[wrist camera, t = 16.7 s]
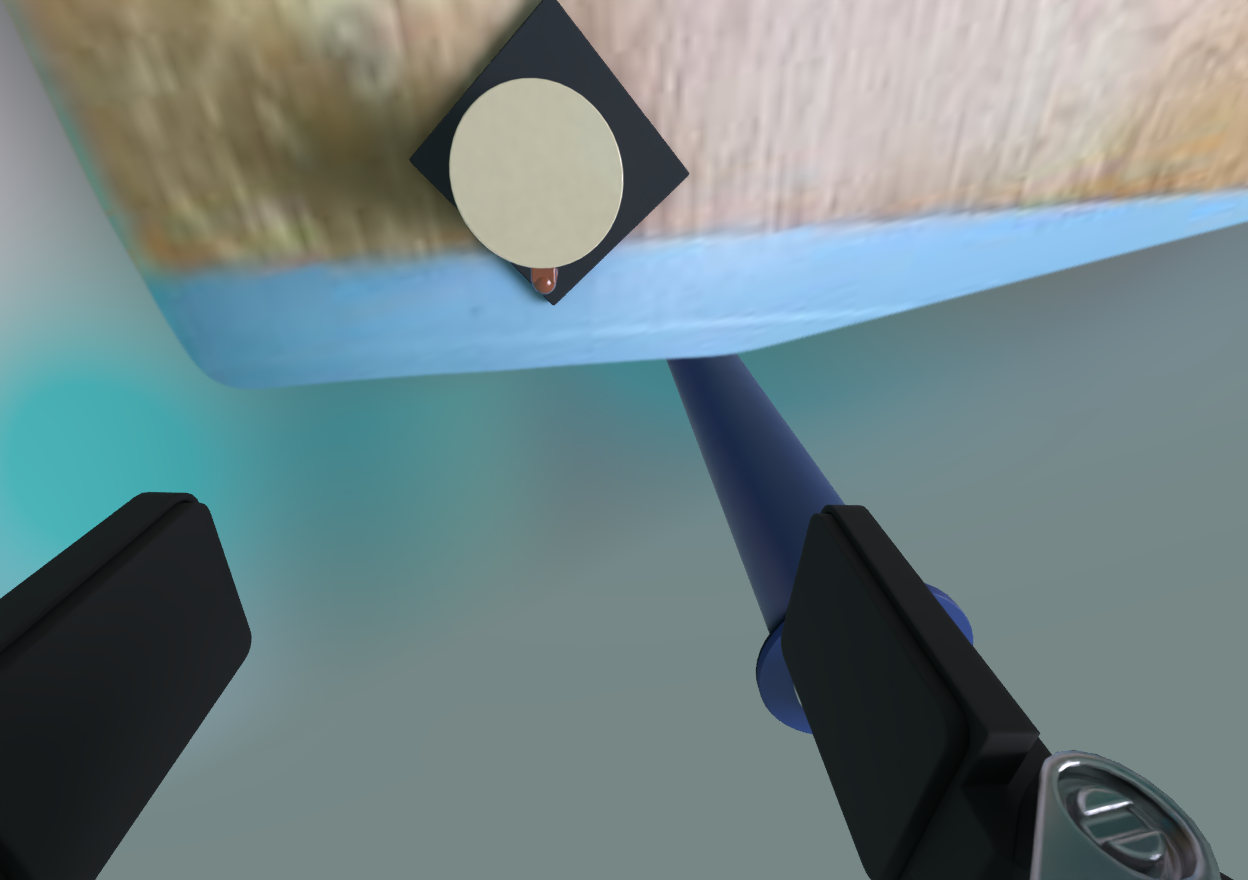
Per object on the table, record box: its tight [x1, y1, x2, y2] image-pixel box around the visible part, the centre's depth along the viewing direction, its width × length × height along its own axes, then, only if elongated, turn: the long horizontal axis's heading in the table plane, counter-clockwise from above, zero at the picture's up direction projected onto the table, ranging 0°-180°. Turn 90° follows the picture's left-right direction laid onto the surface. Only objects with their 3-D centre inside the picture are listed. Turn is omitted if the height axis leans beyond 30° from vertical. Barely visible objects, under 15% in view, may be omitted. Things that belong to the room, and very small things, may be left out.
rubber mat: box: [410, 0, 689, 305], centre depth 29 cm, size 10×10×1 cm
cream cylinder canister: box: [449, 78, 623, 294], centre depth 24 cm, size 8×6×10 cm
